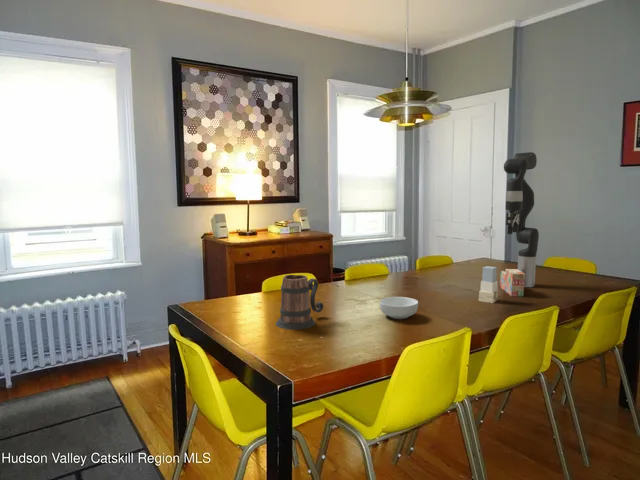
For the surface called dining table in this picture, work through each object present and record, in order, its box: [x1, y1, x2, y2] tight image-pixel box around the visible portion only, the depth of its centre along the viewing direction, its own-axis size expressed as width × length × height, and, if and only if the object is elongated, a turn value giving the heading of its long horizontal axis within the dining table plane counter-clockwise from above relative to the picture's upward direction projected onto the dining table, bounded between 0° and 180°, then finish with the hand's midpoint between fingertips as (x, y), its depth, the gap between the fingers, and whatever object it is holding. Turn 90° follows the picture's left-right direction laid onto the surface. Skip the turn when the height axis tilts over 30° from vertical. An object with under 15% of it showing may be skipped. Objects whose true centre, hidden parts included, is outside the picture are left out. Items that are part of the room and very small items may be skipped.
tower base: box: [478, 290, 499, 304], centre depth 227 cm, size 7×7×5 cm
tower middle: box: [479, 280, 499, 293], centre depth 226 cm, size 6×6×5 cm
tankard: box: [275, 274, 324, 331], centre depth 192 cm, size 24×17×20 cm
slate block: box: [481, 265, 498, 283], centre depth 225 cm, size 5×5×7 cm
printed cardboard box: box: [499, 268, 525, 297], centre depth 245 cm, size 21×6×12 cm, turn 174°
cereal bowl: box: [379, 296, 419, 320], centre depth 200 cm, size 17×17×7 cm
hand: (512, 233), depth 224 cm, fingers open, 8 cm apart
